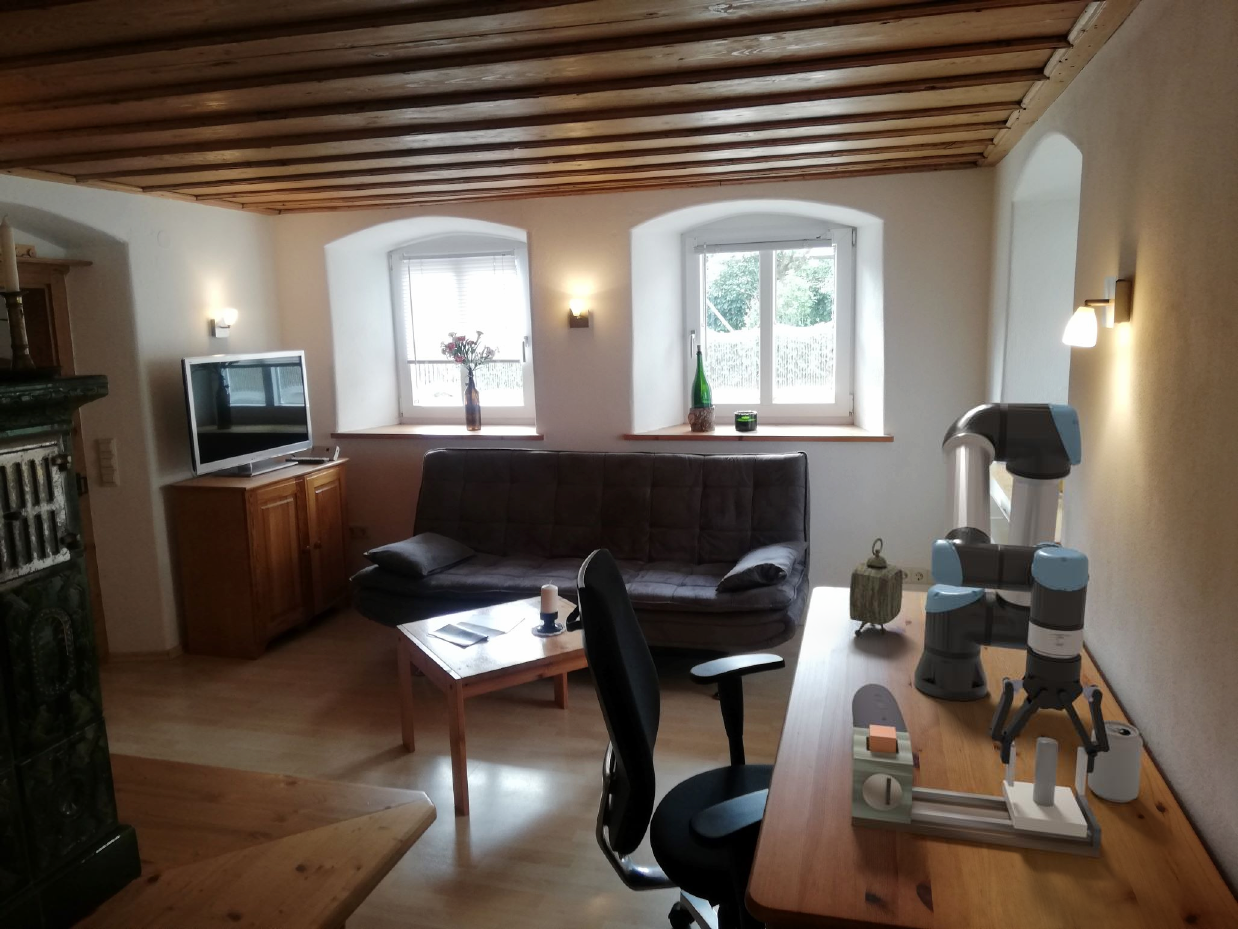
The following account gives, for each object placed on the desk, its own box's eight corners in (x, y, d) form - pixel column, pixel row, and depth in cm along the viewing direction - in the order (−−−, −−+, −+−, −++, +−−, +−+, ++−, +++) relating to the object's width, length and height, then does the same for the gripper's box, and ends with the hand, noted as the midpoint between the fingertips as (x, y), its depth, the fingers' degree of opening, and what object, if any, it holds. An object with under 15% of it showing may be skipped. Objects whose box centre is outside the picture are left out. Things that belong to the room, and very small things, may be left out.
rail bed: (851, 789, 150) (853, 727, 149) (1081, 817, 141) (1086, 751, 140) (851, 827, 139) (853, 760, 137) (1101, 860, 130) (1107, 789, 128)
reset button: (869, 741, 145) (869, 724, 144) (894, 744, 144) (895, 727, 143) (869, 752, 141) (870, 735, 140) (895, 755, 140) (896, 738, 139)
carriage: (1002, 791, 144) (1006, 722, 142) (1068, 799, 141) (1074, 729, 139) (1014, 828, 133) (1019, 754, 132) (1086, 837, 131) (1092, 762, 129)
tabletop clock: (868, 621, 235) (871, 531, 231) (901, 627, 230) (905, 535, 226) (848, 637, 224) (851, 542, 220) (883, 644, 218) (887, 547, 214)
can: (1137, 809, 144) (1143, 741, 142) (1085, 797, 147) (1091, 730, 146) (1138, 789, 150) (1144, 723, 148) (1089, 777, 154) (1094, 713, 152)
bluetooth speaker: (914, 790, 150) (917, 735, 149) (858, 785, 152) (860, 731, 150) (897, 730, 172) (899, 682, 171) (848, 726, 174) (850, 679, 172)
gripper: (980, 652, 132) (972, 789, 136) (1142, 665, 127) (1130, 808, 130) (973, 635, 139) (966, 766, 143) (1127, 647, 134) (1115, 782, 137)
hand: (1044, 786), depth 137 cm, fingers open, 9 cm apart
